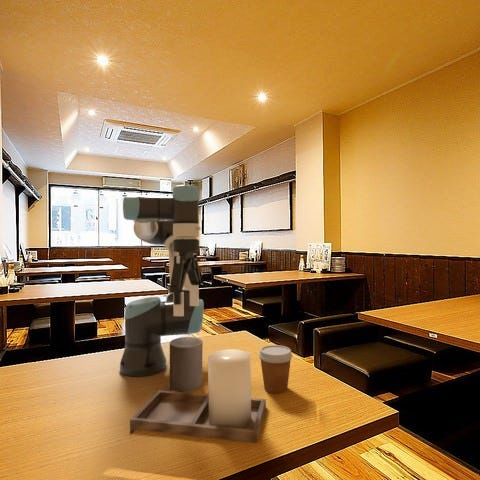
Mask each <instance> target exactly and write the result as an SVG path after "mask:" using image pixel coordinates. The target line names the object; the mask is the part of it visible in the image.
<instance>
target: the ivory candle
mask: <svg viewBox="0 0 480 480" xmlns="http://www.w3.org/2000/svg"><path fill="white" fill-rule="evenodd" d="M251 356H252V355H251V354H250V353H249V352H248V351H245V350H241V349H232V348H231V349H230V348H229V349H222V350H221V349H220V350H215V351H213V352H210V354H209V355H208V357H207V365H208V366H207V367H208V368H207V370H208V371H207V374H208V375H207V376H208V378H207V379H208V380H207V382H208V384H207V385H208V389H207V391H208V392H207V393H208V394H209V424H210V425H211V426H221V427H230V428H240V429H245V428H247V427H248V426H249V425H250V423H251V398H252V368H251V367H252V361H251V360H252V357H251Z"/></svg>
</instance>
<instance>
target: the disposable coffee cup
mask: <svg viewBox="0 0 480 480" xmlns="http://www.w3.org/2000/svg"><path fill="white" fill-rule="evenodd" d="M258 357H259V359H260V364H261V366H260V367H261V372H262V373H261V374H262V379H263V388H264V390H265V392H267V393H269V394H272V395H281V394H285V393H286V392H287V391H288V387H289V386H288V385H289V379H290V378H289V377H290V368H291V360H292V357H293V352H292V350H291V348H289V347H288V346H284V345H279V344H273V345H265V346H262V347H261V348H260V350H259V353H258Z"/></svg>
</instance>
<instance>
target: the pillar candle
mask: <svg viewBox="0 0 480 480" xmlns="http://www.w3.org/2000/svg"><path fill="white" fill-rule="evenodd" d="M203 342H204V341H203V340H202V339H201V338H199V337H194V336H193V337H192V336H185V337H184V336H183V337H182V336H181V337H178V338H177V337H176V338H173V339H172V340H171V341H170V342H169V388H168V389H169V390H168V391H175V392H187V393H191V392H193V391H197V390H198V389H200V388H201V387H202V386H203Z"/></svg>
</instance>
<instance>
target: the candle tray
mask: <svg viewBox="0 0 480 480" xmlns="http://www.w3.org/2000/svg"><path fill="white" fill-rule="evenodd" d="M266 402H267V399H266V398H258V397H257V398H255V397H251V423H250V425H249V426H248V427H247V428H245V429H240V428H230V427H221V426H211V425H210V424H209V394H207V393H197V392H176V391H173V390H171V391H170V390H161V389H158V391H156V392H155V393H154V394H153V395H152V396H151V397H150V399H149V400H148V401H146V403H144V405H142V407H141V408H140V409H139V410H138V411H136V412H135V414H134V415H132V417H131V418H130V419H129V433H130V434H133V433H134V432H135V431H137V430H138V431H140V430H141V431H148V432H158V433H159V432H160V433H165V434H166V433H167V434H176V435H185V436H192V437H202V438H210V439H211V438H212V439H218V440H219V439H221V440H228V441H237V442H249V443H258V441H259V435H260V431H261V427H262V425H263V424H262V423H263V421H264V415H265V412H266V407H267V405H266V404H267V403H266Z"/></svg>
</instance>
